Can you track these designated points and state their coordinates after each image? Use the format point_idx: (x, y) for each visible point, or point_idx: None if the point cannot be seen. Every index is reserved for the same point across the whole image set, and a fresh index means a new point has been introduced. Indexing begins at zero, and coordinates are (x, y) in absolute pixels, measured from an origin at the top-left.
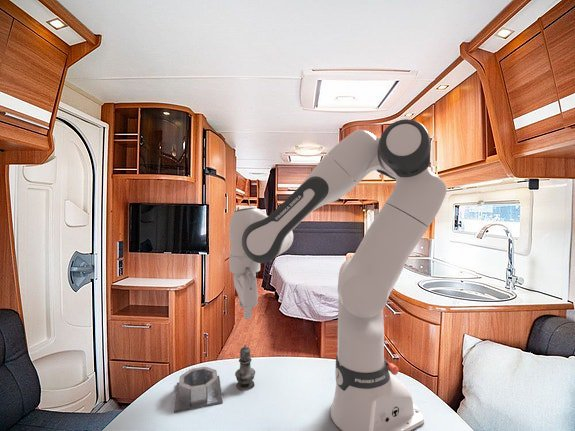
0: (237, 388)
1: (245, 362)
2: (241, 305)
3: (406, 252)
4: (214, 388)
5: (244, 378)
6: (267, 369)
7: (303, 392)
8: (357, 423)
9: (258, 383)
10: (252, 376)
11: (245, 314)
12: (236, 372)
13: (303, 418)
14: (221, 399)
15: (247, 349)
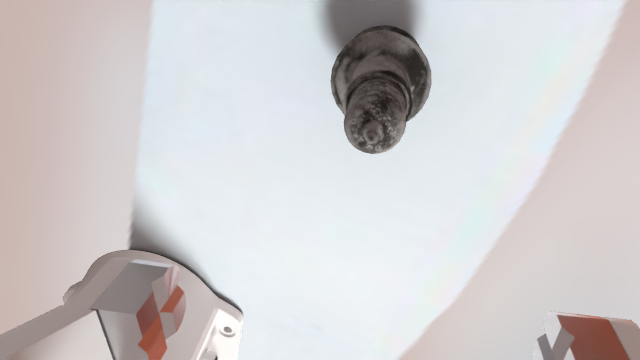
0: (369, 29)
1: (345, 99)
2: (549, 343)
3: None
4: None
5: (333, 69)
6: (454, 181)
7: (272, 237)
8: (77, 290)
9: None
10: (339, 107)
11: (83, 298)
12: (398, 41)
13: (164, 192)
14: None
15: (353, 139)
